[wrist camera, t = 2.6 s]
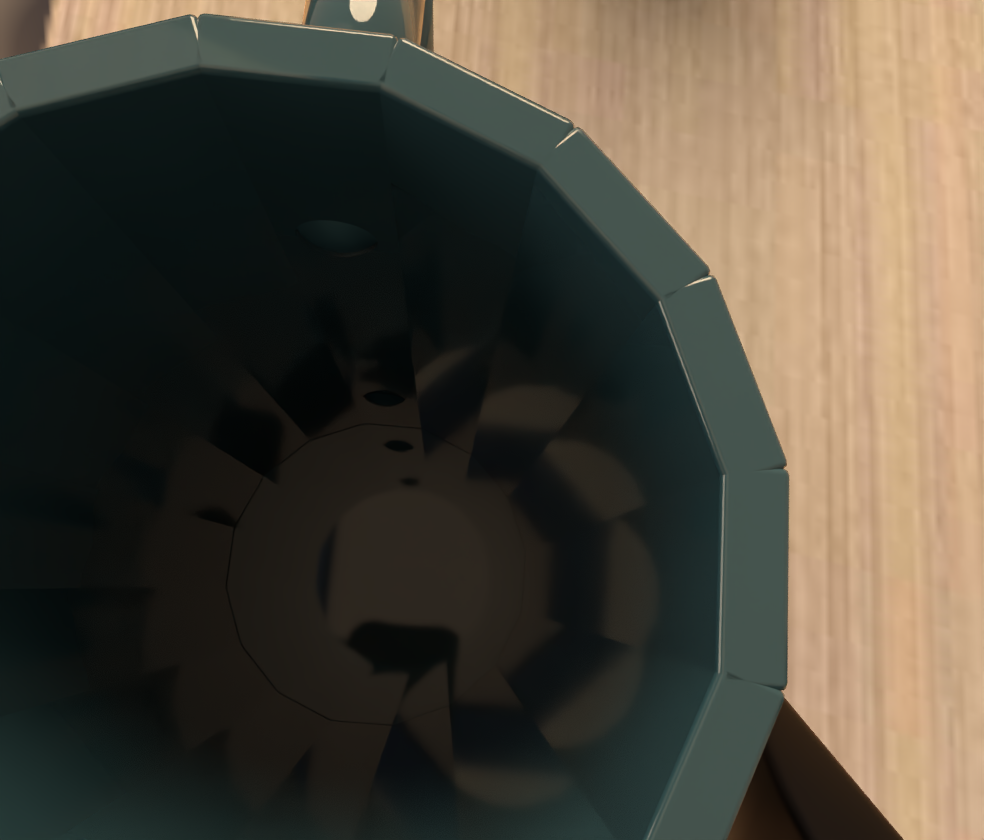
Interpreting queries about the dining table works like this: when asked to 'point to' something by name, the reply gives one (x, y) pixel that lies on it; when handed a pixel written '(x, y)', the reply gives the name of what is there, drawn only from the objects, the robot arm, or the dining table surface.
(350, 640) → the teal mug
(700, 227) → the dining table surface
